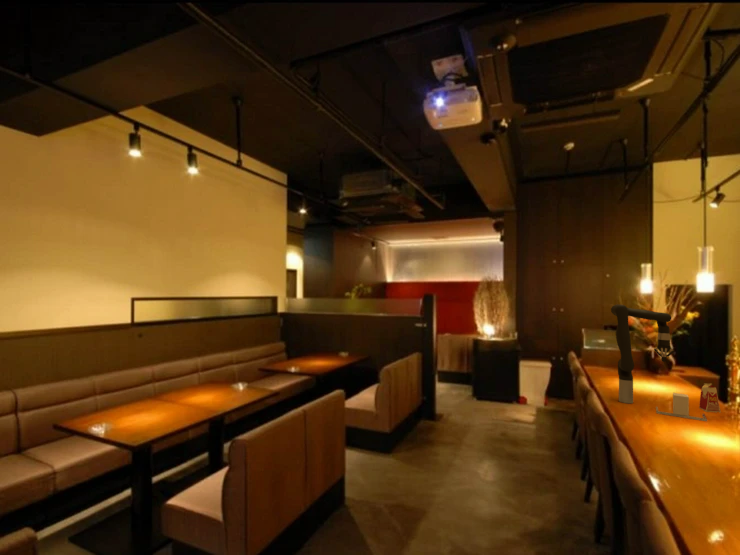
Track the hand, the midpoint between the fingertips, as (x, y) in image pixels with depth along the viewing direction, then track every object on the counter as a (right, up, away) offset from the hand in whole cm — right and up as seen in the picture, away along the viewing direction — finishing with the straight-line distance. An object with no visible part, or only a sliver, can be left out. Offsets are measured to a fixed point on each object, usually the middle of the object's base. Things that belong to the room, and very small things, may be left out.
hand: (663, 361), depth 296 cm
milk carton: (+21, -32, -16) cm, 41 cm away
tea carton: (-9, -31, -27) cm, 42 cm away
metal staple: (-8, -31, -26) cm, 41 cm away
